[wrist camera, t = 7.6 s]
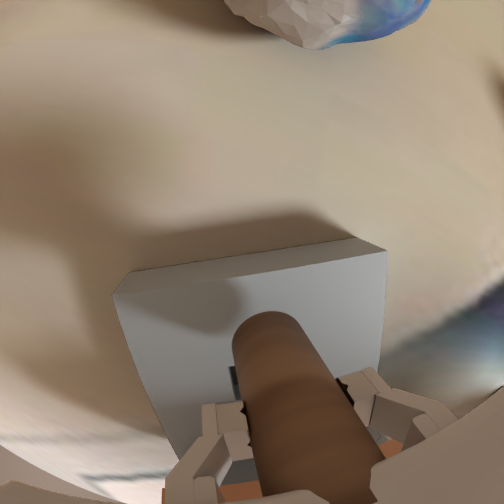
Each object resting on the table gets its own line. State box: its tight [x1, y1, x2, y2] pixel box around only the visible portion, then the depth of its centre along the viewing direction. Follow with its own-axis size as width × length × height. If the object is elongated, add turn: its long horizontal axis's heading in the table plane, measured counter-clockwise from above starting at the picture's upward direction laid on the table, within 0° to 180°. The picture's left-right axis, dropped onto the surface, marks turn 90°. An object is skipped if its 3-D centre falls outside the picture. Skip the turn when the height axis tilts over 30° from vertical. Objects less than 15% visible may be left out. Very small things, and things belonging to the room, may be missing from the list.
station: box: [112, 237, 403, 504], centre depth 14 cm, size 18×16×16 cm
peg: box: [232, 311, 386, 504], centre depth 9 cm, size 4×4×10 cm
